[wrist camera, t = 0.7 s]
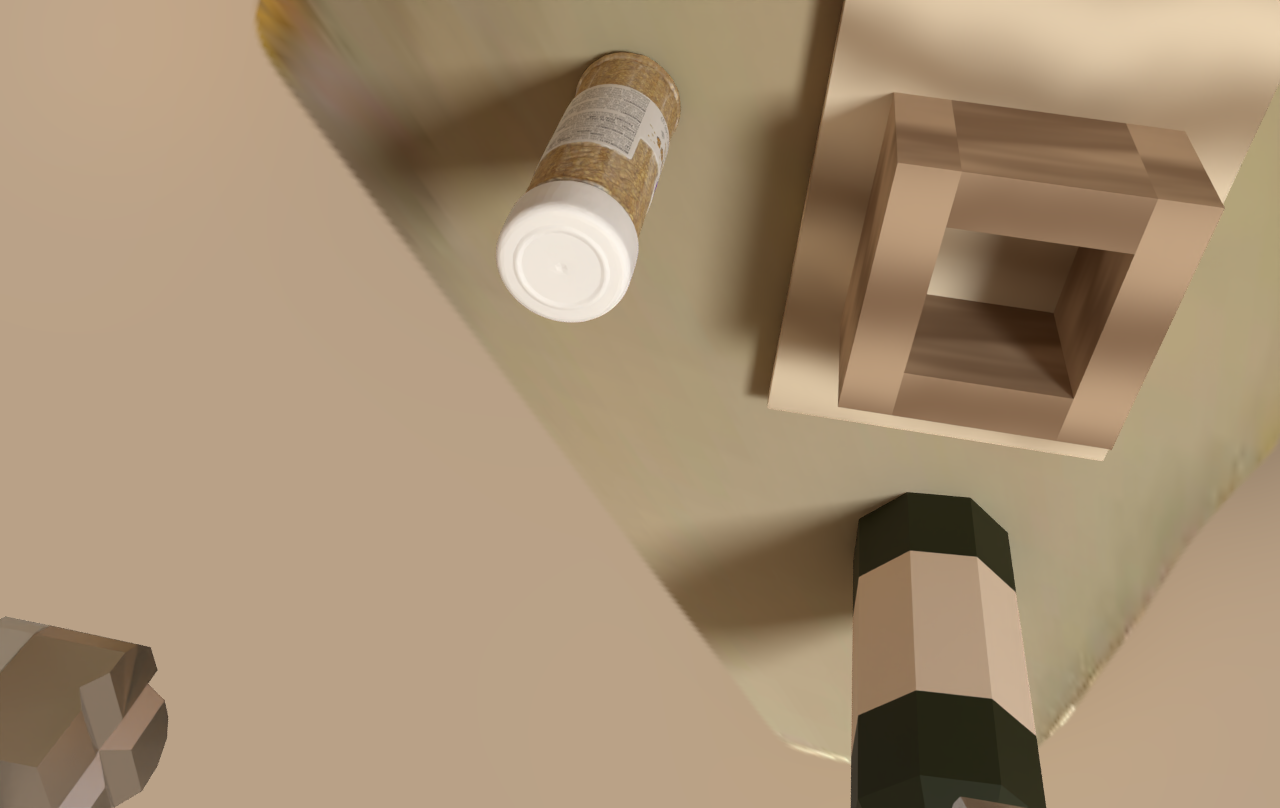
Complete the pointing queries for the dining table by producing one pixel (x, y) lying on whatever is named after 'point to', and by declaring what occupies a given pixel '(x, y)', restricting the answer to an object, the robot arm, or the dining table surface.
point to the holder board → (1021, 71)
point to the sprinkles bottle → (591, 192)
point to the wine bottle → (938, 661)
